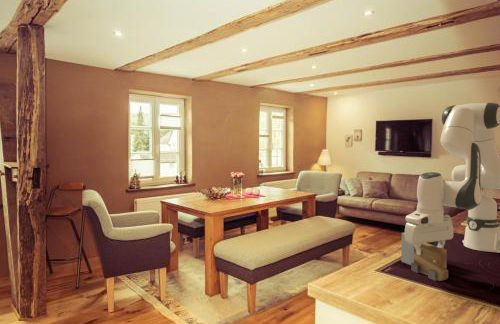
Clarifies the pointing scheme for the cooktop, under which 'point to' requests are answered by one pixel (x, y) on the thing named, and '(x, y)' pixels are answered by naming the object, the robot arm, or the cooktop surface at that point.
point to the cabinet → (410, 250)
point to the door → (432, 260)
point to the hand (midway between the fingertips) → (429, 253)
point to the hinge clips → (431, 273)
